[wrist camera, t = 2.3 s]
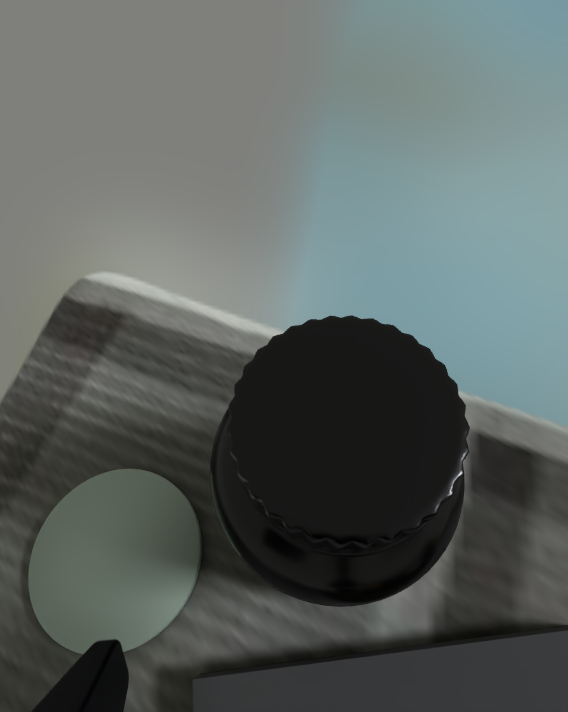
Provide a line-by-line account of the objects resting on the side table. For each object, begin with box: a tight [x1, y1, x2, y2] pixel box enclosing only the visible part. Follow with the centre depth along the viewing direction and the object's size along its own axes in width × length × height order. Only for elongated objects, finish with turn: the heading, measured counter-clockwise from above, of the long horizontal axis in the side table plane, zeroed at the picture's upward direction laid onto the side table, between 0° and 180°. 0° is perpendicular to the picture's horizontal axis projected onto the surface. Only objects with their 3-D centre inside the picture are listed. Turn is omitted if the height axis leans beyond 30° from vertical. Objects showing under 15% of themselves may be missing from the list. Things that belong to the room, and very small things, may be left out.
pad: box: [28, 469, 202, 654], centre depth 19 cm, size 7×7×1 cm
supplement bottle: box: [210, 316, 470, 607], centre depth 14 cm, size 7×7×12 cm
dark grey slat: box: [193, 626, 568, 712], centre depth 16 cm, size 14×2×2 cm, turn 96°
